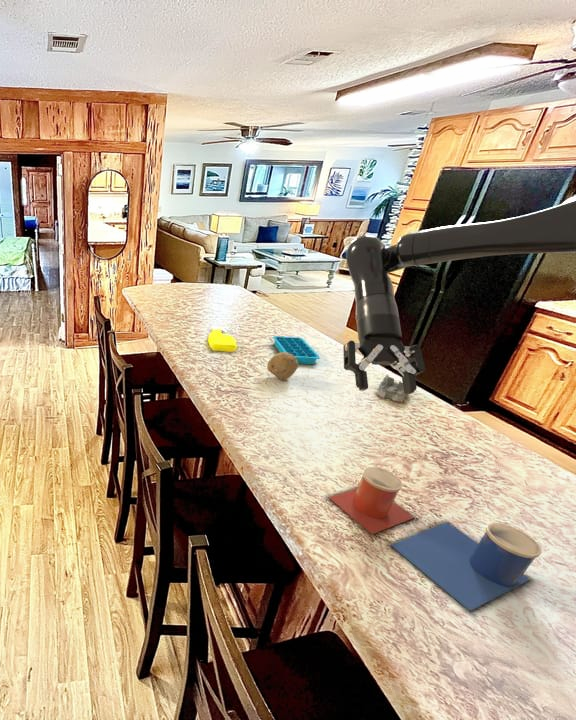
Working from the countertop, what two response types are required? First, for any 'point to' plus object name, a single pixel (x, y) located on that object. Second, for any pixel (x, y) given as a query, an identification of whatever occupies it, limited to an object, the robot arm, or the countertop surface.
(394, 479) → the red tapered cylinder
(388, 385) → the egg carton
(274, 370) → the natural sponge
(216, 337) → the yellow lump
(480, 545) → the blue crock
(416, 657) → the countertop surface
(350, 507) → the rust mat
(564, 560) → the countertop surface
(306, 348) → the ice cube tray
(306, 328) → the countertop surface
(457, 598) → the blue mat
